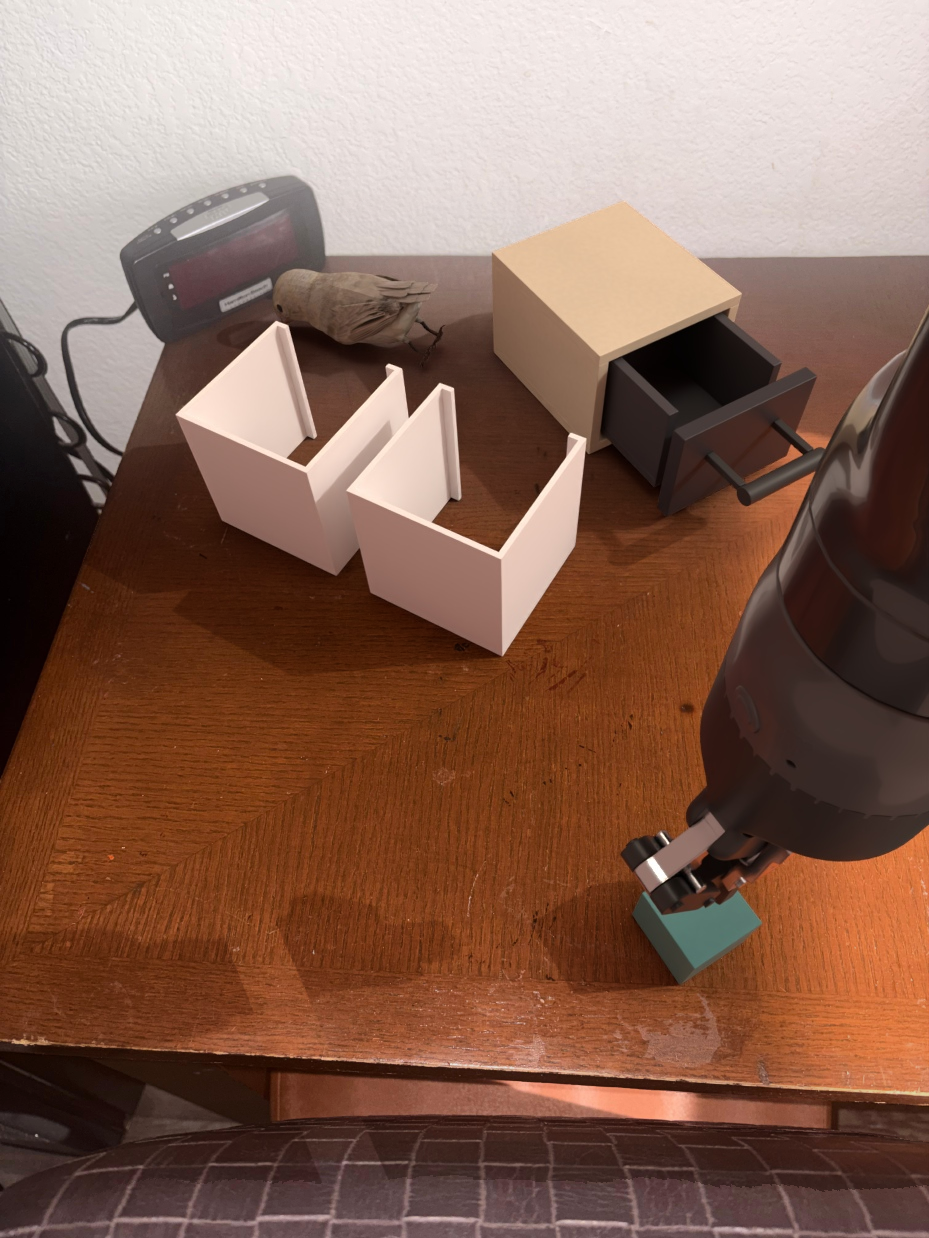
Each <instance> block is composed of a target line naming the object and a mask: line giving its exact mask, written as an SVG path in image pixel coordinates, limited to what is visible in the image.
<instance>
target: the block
mask: <svg viewBox="0 0 929 1238" xmlns="http://www.w3.org/2000/svg"><path fill="white" fill-rule="evenodd" d="M631 916H632V917H633V918H634V920H635V921H636V923H637V925H638V926H639V928H640V929H641V930H642V932H643V933H644V935H645V936H646V938H647V939H648V940H649V942H650V943H651V945H652V947H653V948H654V949H655V951H656V953H657V954H658V956H659V957H660V958H661V960H662V961H663V963H664V964H665V966H666V967H667V969H668V970H669V972H670V973H671V975H672V976H673V978H674V979H675V981H676V982H677V984H678V985H679V986H681V985H683V984H684V983H686V982H687V981H689V980H690V979H692V978H693V977H694V976H696V975H698V974H700V972H702V971H703V970H705V969H707V968H708V967H709V966H711V965H712V964H714V963H716V962H717V961H718V960H720V959H721V958H723V957H724V956H726V955H727V954H729V953H730V952H732V951H733V950H734V949H736V948H738V947H739V946H740V945H742V944H743V943H744V942H746V940H747V939H748V938H750V937H751V935H752V934H754V933H755V931H756V930H757V929H759V928H760V926H762V924H763V922H762V920H761V919H760V918H759V916H757V914H756V912H755V911H754V910H753V908H752V907H751V906H750V905H749V903H748V902H747V901H746V899H745V898H744V897H743V895H742V894H741V893H740V892H739V890H738V891H737V892H736V893H735V894H734V896H733V897H731V898H730V899H728V900H727V901H725V902H724V903H722V904H721V905H718V904H716V903H715V902H714V903H713V904H712V905H710V906H709V907H707V908H705V907H704V906H703V907H701V908H699V909H697V910H693V911H686V912H680V913H673V914H667V915H661V913H660V912H659V910H658V909H657V907H656V906H655V905H654V903H653V902H652V900H651V899H650V897H649V896H648V894H647V893H646V892H645V890H644V891H642V892H641V893H640V896H639V898H638V901H637V902H636V905H635V907H634V909H633V911H632V913H631Z"/></svg>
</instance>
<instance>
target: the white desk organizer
mask: <svg viewBox="0 0 929 1238" xmlns="http://www.w3.org/2000/svg"><path fill="white" fill-rule="evenodd" d="M385 372H386V379H385V380H384V381H383V382H382V383H381V384H380V385H379V386H378V387H377V389H375V391H374V392H373V393H372V394H371V395H370V396H369V397H368V398H367V399H366V400H365V401H364V403H362V405H361V406H360V407H359V408H358V409H357V410H356V411H355V412H354V413H353V415H352V416H350V418H349V419H348V420H347V421H346V422H345V423H344V424H343V425H342V427H340V428H339V430H338V431H337V432H336V433H335V434H334V435H333V436H332V437H331V438H330V440H329V441H327V443H326V444H325V445H324V446H323V447H322V448H321V449H320V450H319V451H318V452H317V454H315V456H314V457H313V458H312V459H311V460H310V461H309V462H308V463H307V464H306V465H302V464H300V463H299V462H295V461H293V460H291V459H289V458H288V457H289V456H290V455H291V454H292V453H293V452H294V451H295V450H296V449H297V447H299V446H300V445H301V443H302V442H303V441H305V439H306V438H307V437H309V438H311V439H313V440H315V439H316V438H317V437H318V433H317V430H316V427H315V423H314V419H313V415H312V411H311V407H310V403H309V400H308V396H307V391H306V388H305V383H304V381H303V376H302V373H301V368H300V365H299V361H298V358H297V353H296V350H295V346H294V342H293V338H292V335H291V331H290V327H289V324H283V323H282V322H281V321H278V320H275V321H274V322H273V323H272V324H271V325H270V326H269V327H268V328H267V329H266V330H264V331H263V332H262V333H261V334H260V335H259V336H258V337H257V338H256V339H255V340H254V341H253V342H251V343H250V344H249V346H247V347H246V348H245V349H244V350H243V351H242V352H241V353H240V354H239V355H238V356H237V357H236V358H235V359H233V360H232V361H231V362H230V363H229V364H228V365H227V366H226V367H225V368H224V369H222V370H221V372H220V373H218V374H217V375H216V376H215V377H214V378H213V379H212V380H211V381H210V382H208V383H207V384H206V386H204V387H203V388H202V389H201V390H200V391H199V392H198V393H197V394H196V395H194V397H192V399H190V400H189V401H188V402H187V403H186V404H185V405H184V406H183V407H182V408H181V409H180V410H179V411H178V412H176V413H175V417H176V420H177V422H178V424H179V426H180V429H181V431H182V433H183V436H184V437H185V440H186V442H187V444H188V447H189V449H190V451H191V453H192V456H193V459H194V460H195V462H196V465H197V468H198V469H199V472H200V474H201V476H202V478H203V481H204V483H205V485H206V488H207V490H208V492H209V495H210V497H211V499H212V501H213V504H214V505H215V508H216V510H217V512H218V515H219V518H220V519H221V521H222V522H223V523H226V524H228V525H230V526H232V527H234V528H237V529H239V530H240V531H242V532H245V533H247V534H249V535H250V536H253V537H255V538H257V539H259V540H261V541H263V542H265V543H267V544H270V545H271V546H273V547H276V548H278V549H279V550H281V551H283V552H285V553H288V554H290V555H292V556H294V557H296V558H298V559H300V560H302V561H304V562H307V563H309V564H311V565H312V566H314V567H317V568H319V569H321V570H323V571H325V572H327V573H329V574H331V575H333V576H335V577H337V576H339V574H340V573H341V572H342V570H343V569H344V567H345V566H346V565H347V564H348V563H349V561H350V560H351V559H352V558H353V557H354V556H355V554H357V551H359V550H360V555H361V559H362V563H363V567H364V571H365V572H364V573H365V576H366V580H367V584H368V588H369V592H370V594H372V595H374V596H376V597H378V598H381V599H383V600H385V601H387V602H389V603H391V604H393V605H395V606H397V607H399V608H401V609H402V610H406V611H408V612H409V613H412V614H414V615H416V616H417V617H420V618H422V619H424V620H426V621H427V622H430V623H432V624H434V625H437V626H439V627H440V628H443V629H444V630H446V631H448V632H450V633H453V634H455V635H457V636H459V637H461V638H463V639H464V640H467V641H469V642H472V643H473V644H475V645H478V646H479V647H481V648H483V649H486V650H488V651H490V652H492V653H493V654H496V655H498V656H500V657H504V655H505V653H506V652H507V651H508V649H509V647H510V646H511V644H512V643H513V641H514V640H515V638H516V637H517V635H518V634H519V632H520V631H521V629H522V628H523V626H524V624H526V622H527V620H528V619H529V617H530V615H531V614H532V612H534V609H535V608H536V606H537V605H538V603H539V602H540V601H541V599H542V597H543V596H544V594H545V593H546V592H547V589H548V588H549V586H550V585H551V584H552V582H553V580H554V579H555V577H556V576H557V575H558V573H559V571H560V570H561V568H562V567H563V565H564V563H565V562H566V561H567V559H568V558H569V556H570V554H571V553H572V551H573V550H574V548H575V547H576V541H577V532H578V522H579V513H580V504H581V495H582V484H583V477H584V476H583V475H584V467H585V457H586V451H585V449H586V438H584V437H581V436H578V435H576V434H573V433H570V434H569V433H568V436H567V442H566V455H565V458H564V459H563V461H562V462H561V464H560V465H559V467H558V468H557V469H556V471H555V472H554V474H553V475H552V477H551V478H550V479H549V481H548V482H547V484H546V485H545V486H544V488H543V489H542V490H541V492H540V494H539V495H538V496H537V498H536V499H535V500H534V502H533V503H532V504H531V506H530V507H529V509H528V510H527V512H526V513H525V515H524V516H523V517H522V519H521V520H520V522H519V523H518V524H517V525H516V527H515V529H513V530H512V533H511V534H510V535H509V537H508V539H507V540H505V543H504V544H503V545H502V547H501V548H500V550H499V551H497V550H495V549H492V548H490V547H488V546H486V545H484V544H481V543H479V542H477V541H475V540H472V539H470V538H468V537H466V536H464V535H461V534H458V533H457V532H454V531H452V530H449V529H447V528H445V527H443V526H441V525H438V524H436V523H434V522H433V521H434V520H435V518H436V517H438V514H440V512H441V511H442V510H443V508H444V507H445V506H446V505H447V503H448V502H449V500H450V499H451V498H452V499H453V500H456V501H460V500H461V499H462V486H461V484H462V483H461V469H460V455H459V441H458V440H459V439H458V426H457V412H456V397H455V388H454V387H452V386H450V385H447V384H443V383H442V382H438V384H437V386H436V387H435V388H434V389H433V390H432V391H431V392H430V393H429V394H428V396H427V397H426V398H425V399H424V400H423V401H422V403H421V404H420V405H419V406H418V407H417V408H416V410H414V412H413V413H412V414H411V415H410V416H409V409H408V403H407V395H406V388H405V380H404V371H403V368H401V367H399V366H397V365H393V364H391V363H387V364H386V366H385Z"/></svg>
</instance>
